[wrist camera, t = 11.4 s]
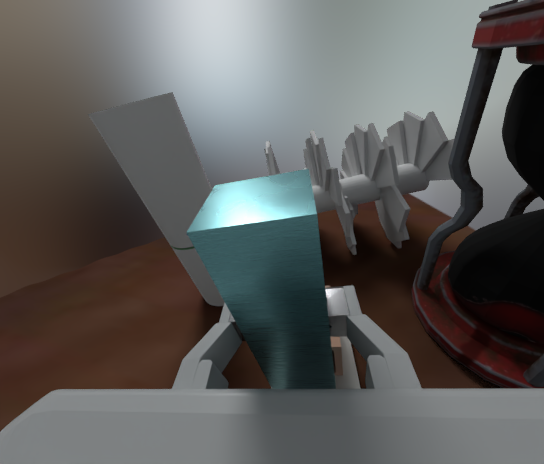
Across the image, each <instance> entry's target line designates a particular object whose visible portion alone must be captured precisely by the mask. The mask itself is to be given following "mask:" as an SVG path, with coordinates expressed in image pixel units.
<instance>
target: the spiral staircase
mask: <svg viewBox="0 0 544 464" xmlns="http://www.w3.org/2000/svg"><path fill="white" fill-rule="evenodd" d="M354 129H355V136H354V133H351V134H350V135H349V136H348V138H347V139H346V141H345V144H346V148H345V149H343V154H342V169H343V170H342V171H340V176H341V179H340V180H339V176H338V170H337V168H333V167H330V164H329V160H328V156H327V153H326V148H325V145H324V141H323V138H320V139H319V142H318V139H317V137H316V135H315V132H314V130H312V131H310V135H311V139H310V138H308V139H307V140H306V147H307V149H304V158H305V165H306V168H304V169H303V170H305V169H309V173H310V178H311V184H312V189H313V195H314V200H315V206H316V211H317V213H321V212H325V211H330V210H334V209H336V211H337V213H338V216H339V219H340V222H341V224H342V227H343V230H344V234H345V238H346V244H347V246H348V249H350V251H351V252H352V254H353V255H356V254H357V253H356V246H355V245H356V244H357V243H356V240H355V236H354V232H353V219H354V217H355V215H356V214H358V204H362V203H367V202H371V201H375V204H376V208H377V212H378V215H379V220H380V223H381V225H382V227H383V229H384V231H385V233H386V237H387V238H388V239H389V240H390V241H391V242H392V243H393V244H394V245H395V246H396V247H397V248H402V245H401V241H403V240H408V239H410V238H409V235H408V231H407V228H406V224H405V223H406V220H407V217H408V214H409V211H410V207H409V206H408V204H407V203H406V201H405V199H404V198H403V196H402V195H404V194H408V193H413V192H417V191H422V190H425V189H426V188H427V187H428V185H429V181H430V180H449V179H450V180H452V178H451V175H450V170H449V165H448V162H449V158H450V154H451V150H452V147H453V143H454V139H452V140H449V141H448V139H447V137H446V135H445V133H444V131H443V129H442V127H441V125H440V123H439V121H438V119H437V118H436V116H435V114H434V112H429V113H428V115H427V116H426V119H423V118H421V117H419V116H417V115H415V114H413V113H411V112H404V121H399V122H397V123H395V124H394V125H392V126H391V127H389V128H388V129H387V133H388V137H384V140H383V142H381V140H380V138H379V135H378V133H377V131H376V129H375V126H374V124H373V123H371V124H369V125H368V130H366V129H365V128H363V127H362V126H360V125H359V124H356V125H354ZM311 142H312V144H311ZM307 152H308V153H307ZM265 153H266V157H267V166H268V172H269V176H271V175H277V174H280V172H279V169H278V166H277V163H276V160H275V157H274V154H273V151H272V148H271V145H270V141H267V142H266V149H265Z"/></svg>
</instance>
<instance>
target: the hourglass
mask: <svg viewBox="0 0 544 464" xmlns="http://www.w3.org/2000/svg"><path fill="white" fill-rule="evenodd" d="M479 18H482V19H481V21H480V22H479V23H478V24H477V27H476V31H475V35H474V39H473V43H472V47H473V48H478V51H477V55H476V59H475V63H474V67H473V71H472V74H471V78H470V82H469V86H468V90H467V93H466V97H465V101H464V105H463V109H462V113H461V116H460V120H459V124H458V128H457V132H456V136H455V139H454V143H453V147H452V150H451V154H450V158H449V162H448V165H449V170H450V175H451V178H452V179H453V180H454V182H455V183H456V184H457V185H458V187H459V188H460V189H461V206H460V208H459V209H458V211H457V212H456V214H455V216H454V217H453V218H452V219H450V220H449V221H447V222H445V223H444V224H442V225H440V226H439V227H438V228H437V229H436V230H435V231H434V232H433V234H432V235H431V236H430V237H429V239H428V243H427V247H426V250H425V254H424V258H423V262H422V266H421V267H420V268H419V269H418V270H417V273H416V276H415V280H414V283H413V287H412V291H411V295H412V300H413V305H414V311H415V313H416V314H417V316H418V318H419V319H420V321H421V323H422V324H423V326H424V328H425V330H426V331H427V333H428V334H429V335H430V336H431V337H432V338H433V339H434V340H435V341H436V342H437V343H438V344H439V345H440V346H441V347H442V348H443V349H444V350H445V351H446V352H447V353H448V354H449V355H450V356H451V357H452V358H454V359H455V360H457V361H458V362H460V363H461V364H463V365H464V366H465V367H467V368H468V369H470V370H471V371H473V372H474V373H476V374H477V375H479V376H480V377H482V378H483V379H485V380H487V381H489V382H491V383H493V384H496V385H498V386H500V387H502V388H544V209H541V210H537V211H533V212H528V213H525V214H523V212H524V210H525V208H526V207H527V206H528V205H529V204H530V202H532V201H533V200H534V199H535V198H537V197H539V196H540V197H541V198H542V199H543V200H544V0H524V1H521V2H518V0H513V1H509V2H505V3H501V4H498V5H494V6H491V7H489V10H488V11H484V12H482V13H481V14H480V15H479ZM506 47H516V48H517V49H516V58H517V60H518V62H520V63H525V64H533V65H531V66H530V67H529V68H528V69H526V70H525V71H523V73H522V74H521V76H520V77H519V79H518V80H517V82H516V84H515V85H514V88H513V91H512V94H511V96H510V99H509V102H508V105H507V107H506V113H505V117H504V123H503V128H502V137H503V142H504V146H505V150H506V154H507V158H508V159H509V161H510V162H511V163H512V165H513V166H514V168H515V169H516V171H517V172H518V173H519V175H520V176H521V177H522V178H523V179H524V180H525V181H526V183H527V184H528V185H527V187H526V189H524V190H523V191H521V192H520V193H519V194H518V195H517V196H516V198H515V199H514V201H513V202H512V204H511V206H510V208H509V210H508V212H507V214H506V216H505V218H504V219H503V220H501V221H497V222H495V223H492V224H489V225H487V226H485V227H482V228H480V229H478V230H476V231H475V232H473V233H472V234H470V235H469V236H467V237H466V238H465V239H464V240H463V241H462V243H461V244H460V245H459V246H458V248H457V249H456V251H451V252H444V253H442V254H440V255H439V253H440V249H441V246H442V243H443V241H444V240H445V239H446V238H447V237H449V236H450V235H451V234H452V233H454V232H456V231H458V230H460V229H462V228H464V227H466V226H468V225H469V223H470V222H471V221H472V220H473V219H474V217H475V216H476V215H477V214H478V213H479V211H480V210H481V209H482V207H483V188H482V187H481V186H480V185H479V184H478V183H477V182H476V181H475V180H474V179H473V177H472V175H471V171H470V166H469V162H468V160H469V157H470V153H471V150H472V147H473V144H474V140H475V137H476V134H477V130H478V128H479V124H480V121H481V118H482V114H483V111H484V108H485V105H486V102H487V98H488V95H489V92H490V89H491V86H492V82H493V79H494V76H495V73H496V69H497V66H498V63H499V60H500V56H501V53H502V50H503V48H506Z"/></svg>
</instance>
